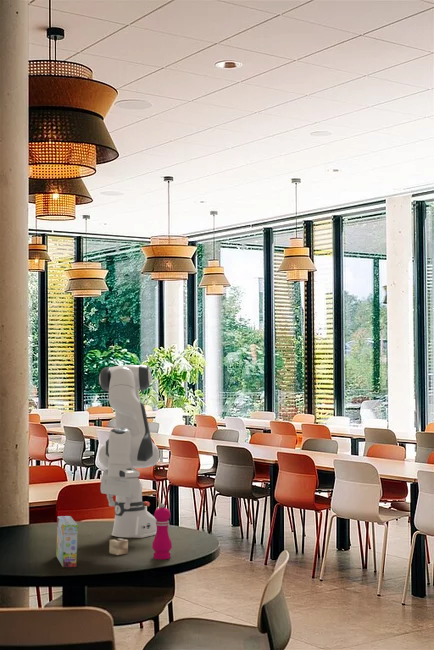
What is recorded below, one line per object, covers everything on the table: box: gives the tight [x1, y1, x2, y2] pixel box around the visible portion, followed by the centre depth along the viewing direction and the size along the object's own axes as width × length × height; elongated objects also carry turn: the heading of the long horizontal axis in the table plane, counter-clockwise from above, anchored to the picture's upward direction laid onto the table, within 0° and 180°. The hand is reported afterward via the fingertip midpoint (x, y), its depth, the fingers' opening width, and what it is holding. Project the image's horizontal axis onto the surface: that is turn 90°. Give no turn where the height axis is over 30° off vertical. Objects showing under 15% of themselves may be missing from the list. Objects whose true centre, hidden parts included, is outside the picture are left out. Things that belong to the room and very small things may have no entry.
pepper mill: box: [151, 503, 173, 560], centre depth 338 cm, size 7×7×20 cm
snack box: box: [55, 515, 79, 568], centre depth 331 cm, size 21×6×15 cm, turn 17°
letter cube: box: [108, 537, 129, 556], centre depth 347 cm, size 5×5×5 cm
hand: (119, 507), depth 347 cm, fingers open, 8 cm apart
